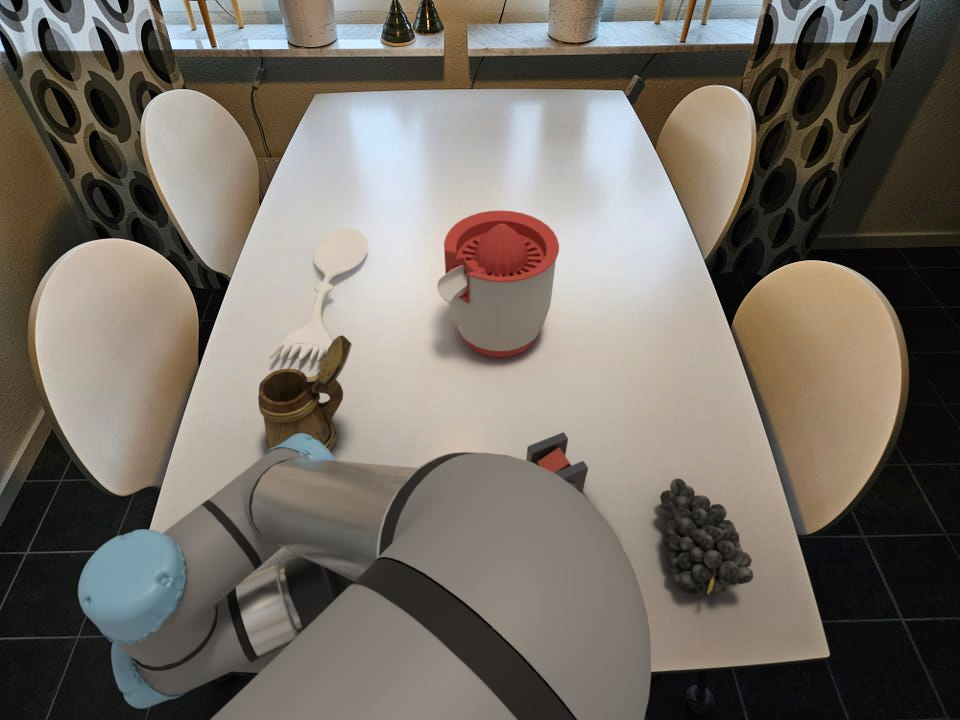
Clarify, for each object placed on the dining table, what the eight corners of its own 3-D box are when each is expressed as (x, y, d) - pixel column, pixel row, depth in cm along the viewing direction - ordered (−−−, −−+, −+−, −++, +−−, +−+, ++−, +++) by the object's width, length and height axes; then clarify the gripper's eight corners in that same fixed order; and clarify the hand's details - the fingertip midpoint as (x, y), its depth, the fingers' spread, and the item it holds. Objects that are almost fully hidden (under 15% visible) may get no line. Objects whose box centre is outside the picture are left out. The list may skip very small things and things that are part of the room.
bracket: (521, 583, 73) (529, 518, 62) (483, 511, 79) (484, 441, 68) (611, 541, 76) (633, 473, 65) (568, 476, 82) (582, 403, 71)
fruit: (669, 449, 74) (711, 573, 64) (730, 458, 76) (780, 580, 66) (633, 490, 80) (666, 609, 69) (691, 497, 82) (731, 614, 72)
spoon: (271, 370, 94) (265, 354, 92) (324, 237, 116) (320, 221, 113) (331, 374, 94) (327, 358, 91) (373, 240, 115) (371, 224, 113)
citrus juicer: (419, 325, 101) (410, 217, 86) (511, 286, 107) (517, 179, 93) (472, 389, 92) (472, 282, 77) (569, 343, 98) (585, 235, 84)
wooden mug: (370, 462, 84) (350, 370, 70) (263, 472, 82) (223, 380, 69) (370, 409, 90) (352, 314, 76) (271, 417, 88) (235, 323, 75)
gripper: (278, 537, 71) (468, 461, 78) (327, 708, 60) (545, 602, 67) (262, 502, 66) (467, 424, 73) (312, 682, 54) (551, 570, 61)
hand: (504, 509), depth 70 cm, fingers closed on lever, 6 cm apart
